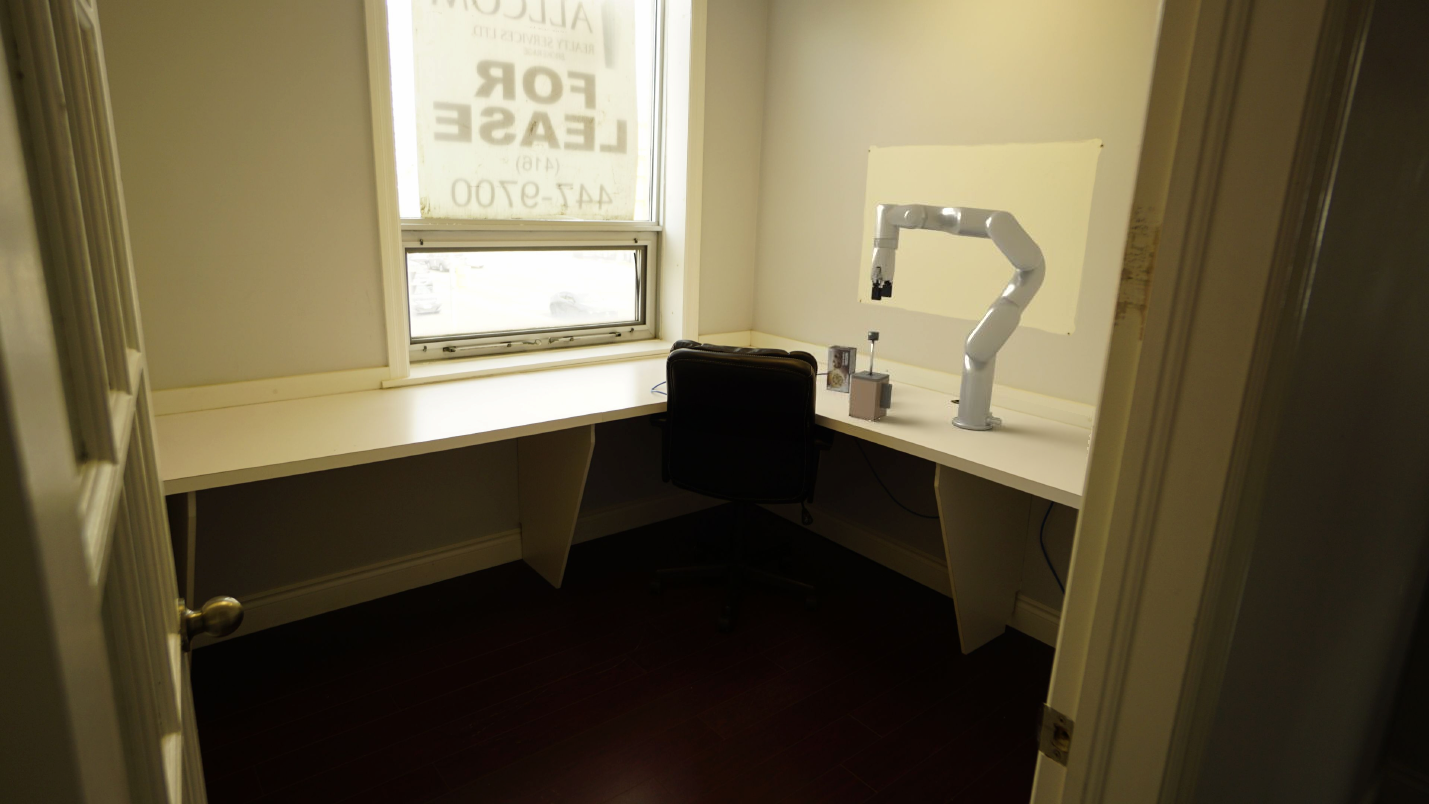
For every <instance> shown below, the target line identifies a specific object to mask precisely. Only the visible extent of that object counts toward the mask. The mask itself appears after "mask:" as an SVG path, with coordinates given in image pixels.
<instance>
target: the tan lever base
mask: <svg viewBox="0 0 1429 804" xmlns="http://www.w3.org/2000/svg"><path fill="white" fill-rule="evenodd" d="M869 371H870V370H863V371H860V372H859V371H858V372H855V373H856V374H853V375H852V376H851V391H850V403H849V406H848V407H849V409H848V417H849V416H851V417H850V418H854V417H855V419H859V418H861V419H860V420H865V421H868V420H871V421H870V422H873V421H874V422H876V421H879V420H880V419H883V418H885V417H887V410H890V409H891V406H892V405H891V403H892V402H891V401H892V391H893V384H892V383H890V374H886V373H882V372H876V371H872V376H870V375H869ZM882 417H883V418H882ZM879 418H880V419H879ZM875 420H876V421H875Z"/></svg>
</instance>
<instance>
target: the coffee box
mask: <svg viewBox="0 0 1429 804" xmlns="http://www.w3.org/2000/svg"><path fill="white" fill-rule="evenodd" d="M857 350H858V348H857V347H853V346H845V345H836V344H835V345H832V346H830V347H828V348H827V370H826V371H827V373H826V388H825V389H826V390H828V391H835V392H841V393H848V394H849V388H850V375H851V374H852V373H856V367H857V364H856V363H857V353H858V352H857Z"/></svg>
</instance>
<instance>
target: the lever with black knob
mask: <svg viewBox="0 0 1429 804" xmlns="http://www.w3.org/2000/svg"><path fill="white" fill-rule="evenodd" d="M879 339H880V331H868V333H867V340H868V341H871V347H870V361H869V370H868V371H869V375H870V376H872V372H873V367H874V355H875V342H877V341H879Z"/></svg>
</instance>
